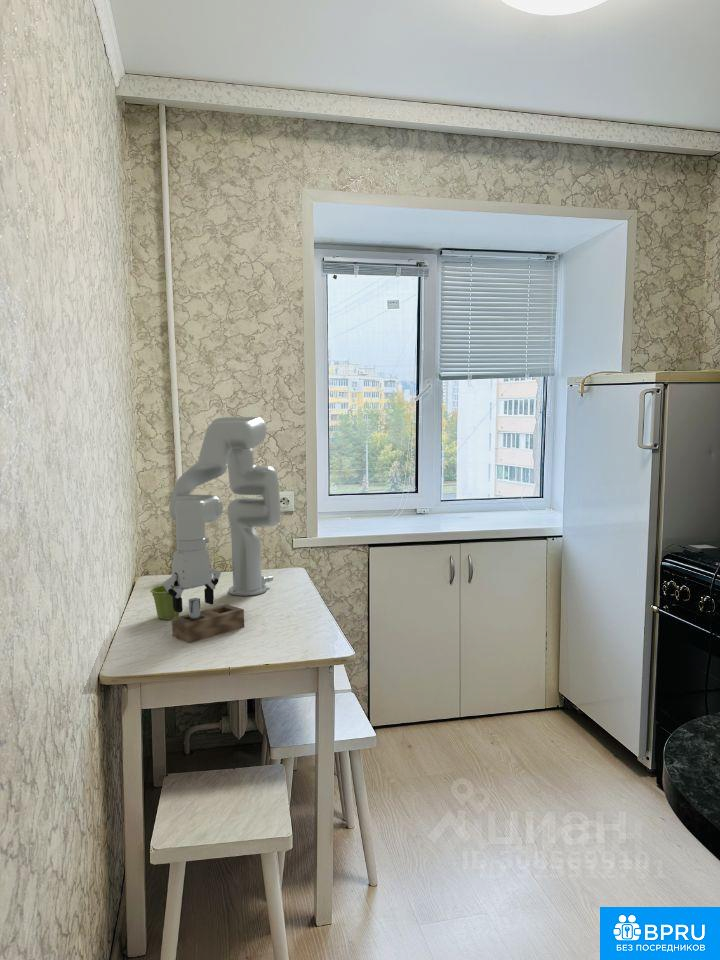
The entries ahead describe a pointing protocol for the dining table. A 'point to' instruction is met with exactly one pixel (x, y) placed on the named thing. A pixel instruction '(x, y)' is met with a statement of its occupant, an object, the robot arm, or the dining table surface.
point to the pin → (194, 609)
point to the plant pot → (164, 603)
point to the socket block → (208, 623)
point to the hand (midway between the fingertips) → (194, 607)
